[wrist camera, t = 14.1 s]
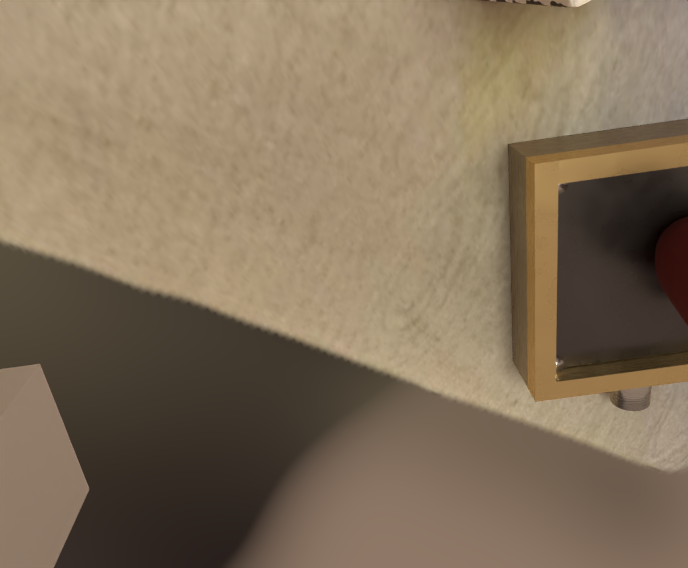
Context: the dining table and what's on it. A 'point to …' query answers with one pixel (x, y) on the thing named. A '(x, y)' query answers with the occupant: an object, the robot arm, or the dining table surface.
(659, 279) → the mug
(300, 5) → the dining table surface
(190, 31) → the dining table surface
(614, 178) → the shallow drawer tray
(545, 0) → the candy box
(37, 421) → the robot arm
